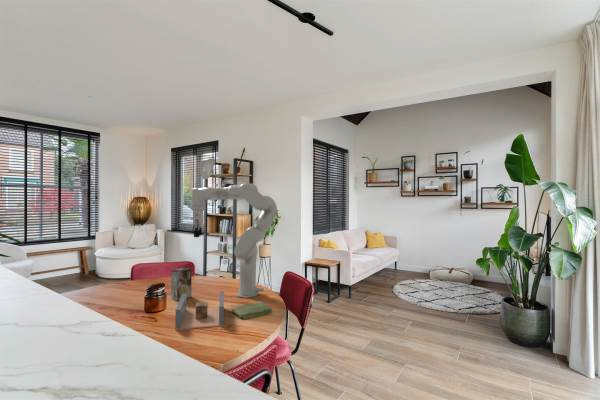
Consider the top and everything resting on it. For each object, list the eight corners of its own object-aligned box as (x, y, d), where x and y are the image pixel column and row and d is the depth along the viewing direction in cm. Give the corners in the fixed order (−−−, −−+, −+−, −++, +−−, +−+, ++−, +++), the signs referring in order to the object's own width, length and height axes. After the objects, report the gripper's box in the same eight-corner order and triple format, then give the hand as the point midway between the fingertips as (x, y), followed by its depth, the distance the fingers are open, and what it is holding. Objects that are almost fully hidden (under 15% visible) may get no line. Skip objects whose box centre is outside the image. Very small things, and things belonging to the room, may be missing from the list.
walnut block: (207, 314, 147) (207, 301, 147) (206, 318, 143) (207, 305, 143) (196, 315, 146) (196, 302, 146) (195, 319, 141) (195, 306, 141)
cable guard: (223, 308, 158) (223, 291, 158) (223, 326, 136) (223, 306, 136) (182, 311, 153) (182, 293, 153) (175, 330, 131) (175, 309, 131)
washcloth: (230, 312, 153) (230, 306, 153) (262, 306, 163) (262, 300, 163) (240, 321, 143) (240, 314, 143) (274, 313, 152) (274, 307, 152)
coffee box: (185, 294, 180) (185, 267, 180) (191, 296, 176) (192, 268, 176) (170, 298, 172) (170, 269, 172) (176, 300, 168) (177, 271, 168)
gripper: (202, 208, 179) (202, 237, 179) (206, 207, 196) (205, 234, 196) (189, 208, 178) (189, 238, 178) (193, 207, 195) (193, 234, 195)
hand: (197, 236), depth 187 cm, fingers open, 9 cm apart
